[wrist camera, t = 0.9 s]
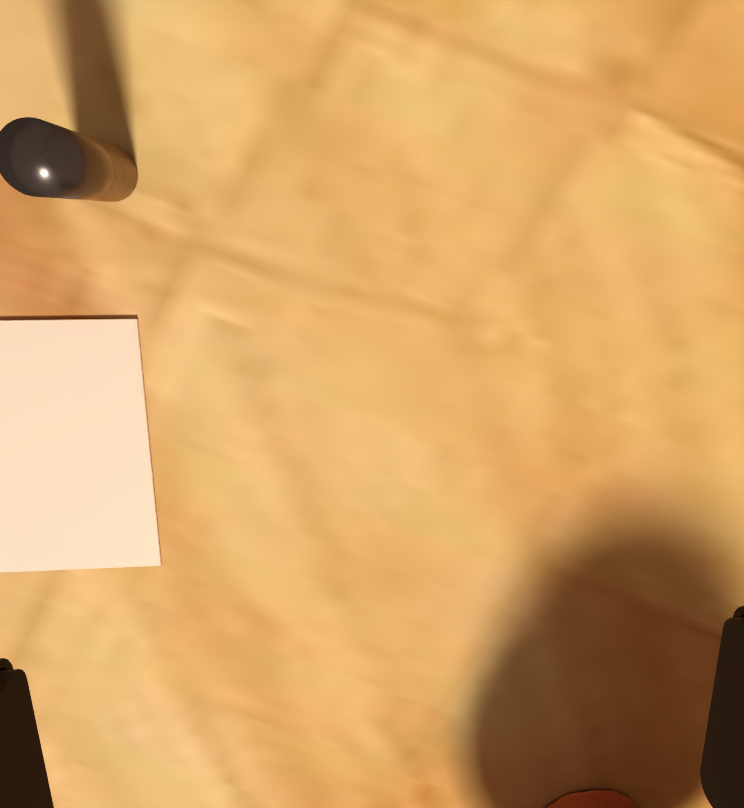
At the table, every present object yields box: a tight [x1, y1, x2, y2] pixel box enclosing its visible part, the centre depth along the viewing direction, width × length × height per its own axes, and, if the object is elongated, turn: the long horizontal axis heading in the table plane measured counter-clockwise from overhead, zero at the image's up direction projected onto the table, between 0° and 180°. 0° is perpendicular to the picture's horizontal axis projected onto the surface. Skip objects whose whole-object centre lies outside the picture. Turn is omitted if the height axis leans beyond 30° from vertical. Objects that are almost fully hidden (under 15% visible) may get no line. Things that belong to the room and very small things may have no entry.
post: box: [0, 117, 138, 202], centre depth 27 cm, size 3×3×9 cm
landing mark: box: [0, 319, 162, 572], centre depth 35 cm, size 14×14×1 cm
